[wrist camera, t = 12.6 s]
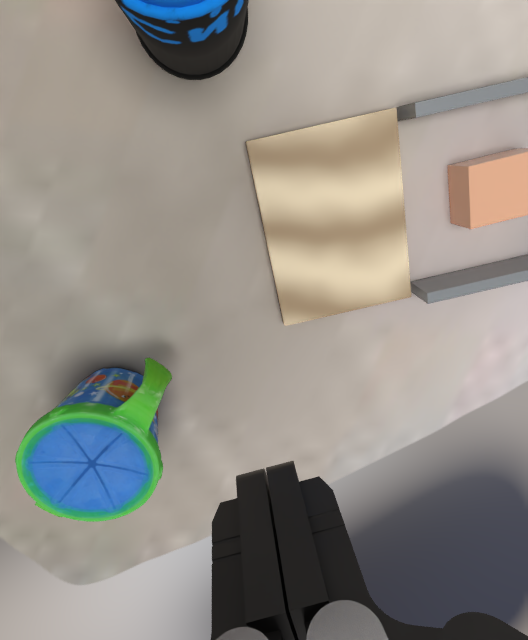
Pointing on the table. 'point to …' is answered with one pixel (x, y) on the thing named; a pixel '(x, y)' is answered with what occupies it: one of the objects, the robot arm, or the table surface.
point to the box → (484, 274)
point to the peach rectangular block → (489, 188)
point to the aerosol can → (189, 33)
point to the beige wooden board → (333, 215)
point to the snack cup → (97, 446)
